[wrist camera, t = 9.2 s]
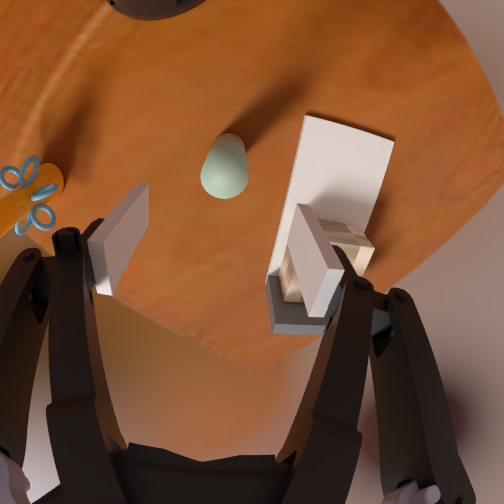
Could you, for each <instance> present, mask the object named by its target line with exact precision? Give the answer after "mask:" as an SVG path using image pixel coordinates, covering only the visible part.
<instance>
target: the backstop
mask: <svg viewBox="0 0 504 504" xmlns="http://www.w3.org/2000/svg"><path fill="white" fill-rule="evenodd" d="M393 145H394V142H393V141H391V140H388V139H385V138H382V137H379V136H377V135H374V134H371V133H368V132H365V131H362V130H358V129H355V128H352V127H349V126H345V125H342V124H338V123H335V122H331V121H327V120H324V119H320V118H316V117H312V116H307V115H305V116H304V121H303V125H302V130H301V134H300V139H299V143H298V148H297V152H296V156H295V161H294V165H293V169H292V174H291V178H290V182H289V187H288V191H287V195H286V199H285V204H284V208H283V212H282V216H281V220H280V224H279V228H278V233H277V237H276V241H275V245H274V249H273V253H272V257H271V261H270V265H269V269H268V273H267V277H266V281H265V285H266V292H267V299H268V306H269V313H270V321H271V328H272V334H290V335H323V334H324V333H322V331H323V329H324V327H325V325H326V323H327V321H328V319H329V317H330V312H329V309H327V311H326V313H325V315H324V317H308V313H307V310H306V306H305V303H300V302H286V301H284V299H283V294H282V289H281V284H280V279H279V271H280V267H281V264H282V260H283V257H284V253H285V249H286V246H287V239H288V235H289V231H290V227H291V224H292V220H293V216H294V212H295V208H296V204H297V203H301V204H307V205H309V206H310V208H311V210H312V211H313V213H314V215H315V217H316V218H317V219H318V220H324V221H330V222H336V223H342V224H347V225H353V226H358V227H359V228H360V229H361V230H362V232H363V233H364V232H365V229H366V227H367V224H368V221H369V219H370V216H371V213H372V211H373V208H374V205H375V202H376V199H377V196H378V193H379V190H380V187H381V184H382V181H383V178H384V175H385V172H386V169H387V166H388V162H389V159H390V156H391V152H392V149H393Z"/></svg>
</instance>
